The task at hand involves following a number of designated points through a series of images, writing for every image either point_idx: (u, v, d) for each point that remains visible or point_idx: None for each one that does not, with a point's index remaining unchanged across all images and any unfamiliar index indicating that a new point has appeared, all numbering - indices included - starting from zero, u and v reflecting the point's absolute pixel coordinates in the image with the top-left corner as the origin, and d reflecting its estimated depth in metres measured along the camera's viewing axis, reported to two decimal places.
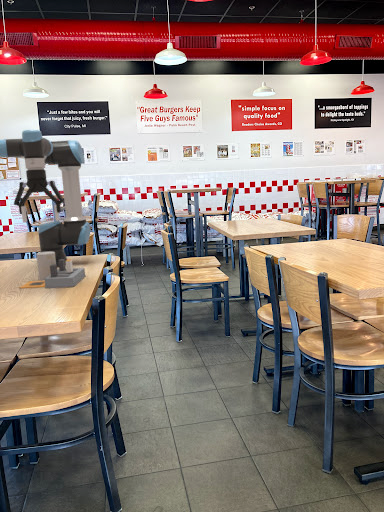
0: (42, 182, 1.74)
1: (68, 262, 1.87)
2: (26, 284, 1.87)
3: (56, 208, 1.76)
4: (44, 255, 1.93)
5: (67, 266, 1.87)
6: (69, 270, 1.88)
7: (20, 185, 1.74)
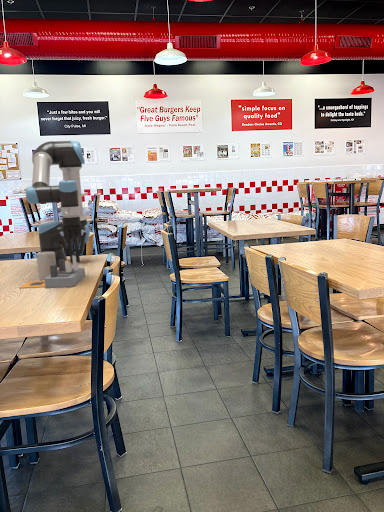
0: (78, 228, 1.85)
1: (67, 262, 1.87)
2: (26, 284, 1.87)
3: (76, 258, 1.87)
4: (44, 255, 1.93)
5: (66, 266, 1.87)
6: (68, 270, 1.88)
7: (59, 236, 1.85)
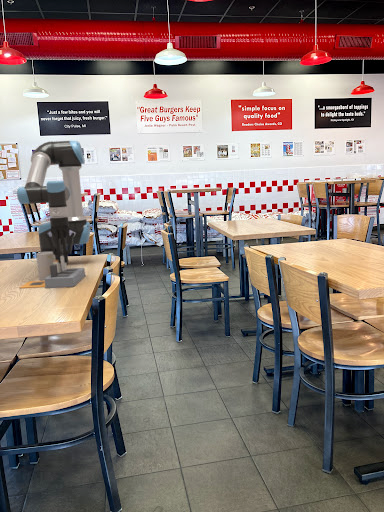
0: (66, 228, 1.85)
1: (56, 263, 1.87)
2: (26, 284, 1.87)
3: (64, 259, 1.87)
4: (44, 255, 1.93)
5: None
6: (57, 271, 1.88)
7: (47, 236, 1.85)
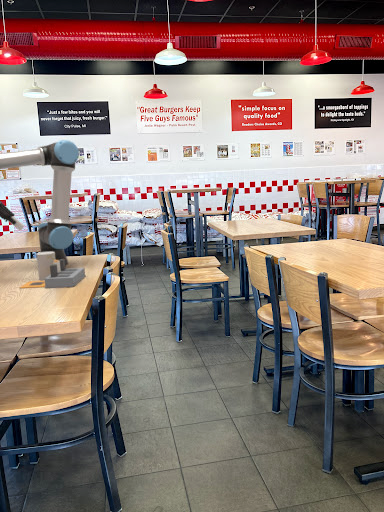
0: None
1: (55, 263, 1.87)
2: (26, 284, 1.87)
3: (11, 222, 1.93)
4: (44, 255, 1.93)
5: None
6: (57, 271, 1.88)
7: None
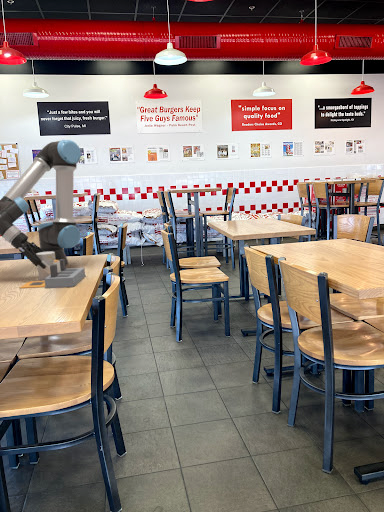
0: None
1: (55, 263, 1.87)
2: (26, 284, 1.87)
3: (41, 266, 1.93)
4: (44, 255, 1.93)
5: None
6: (57, 271, 1.88)
7: None
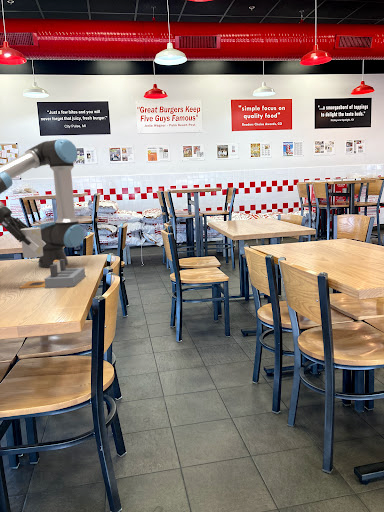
0: None
1: (55, 263, 1.87)
2: (26, 284, 1.87)
3: (25, 243, 1.79)
4: (28, 230, 1.79)
5: None
6: (57, 271, 1.88)
7: None
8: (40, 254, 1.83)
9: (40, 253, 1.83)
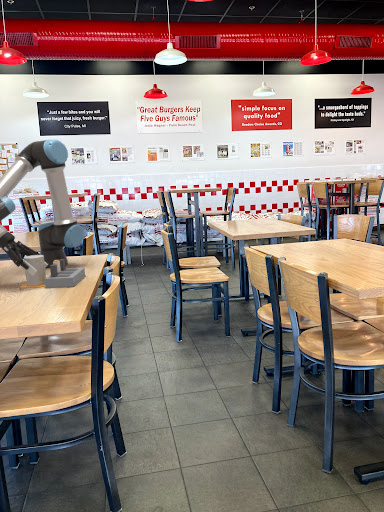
0: None
1: (55, 263, 1.87)
2: (26, 284, 1.87)
3: None
4: (32, 259, 1.81)
5: None
6: (57, 271, 1.88)
7: None
8: (43, 282, 1.85)
9: (43, 281, 1.85)
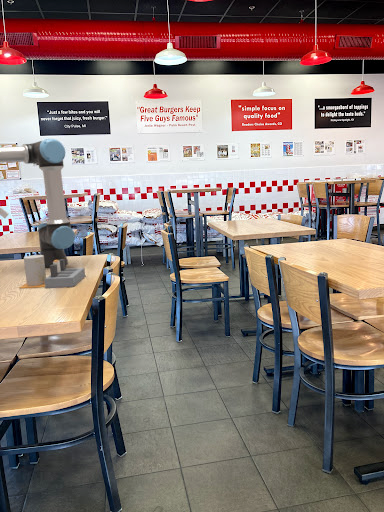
0: None
1: (55, 263, 1.87)
2: (26, 284, 1.87)
3: None
4: (32, 259, 1.81)
5: None
6: (57, 271, 1.88)
7: None
8: (43, 282, 1.85)
9: (43, 281, 1.85)
